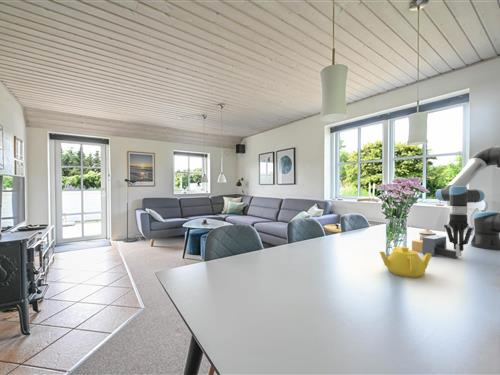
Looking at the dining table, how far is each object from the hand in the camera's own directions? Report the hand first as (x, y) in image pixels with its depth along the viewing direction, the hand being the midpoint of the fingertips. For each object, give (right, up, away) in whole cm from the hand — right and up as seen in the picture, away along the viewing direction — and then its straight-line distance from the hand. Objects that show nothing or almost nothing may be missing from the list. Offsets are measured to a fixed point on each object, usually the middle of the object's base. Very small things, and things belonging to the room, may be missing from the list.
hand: (458, 256), depth 136 cm
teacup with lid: (+4, -1, +27) cm, 27 cm away
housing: (-6, -1, +10) cm, 12 cm away
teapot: (-43, -2, -20) cm, 47 cm away
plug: (-6, -1, +10) cm, 12 cm away
